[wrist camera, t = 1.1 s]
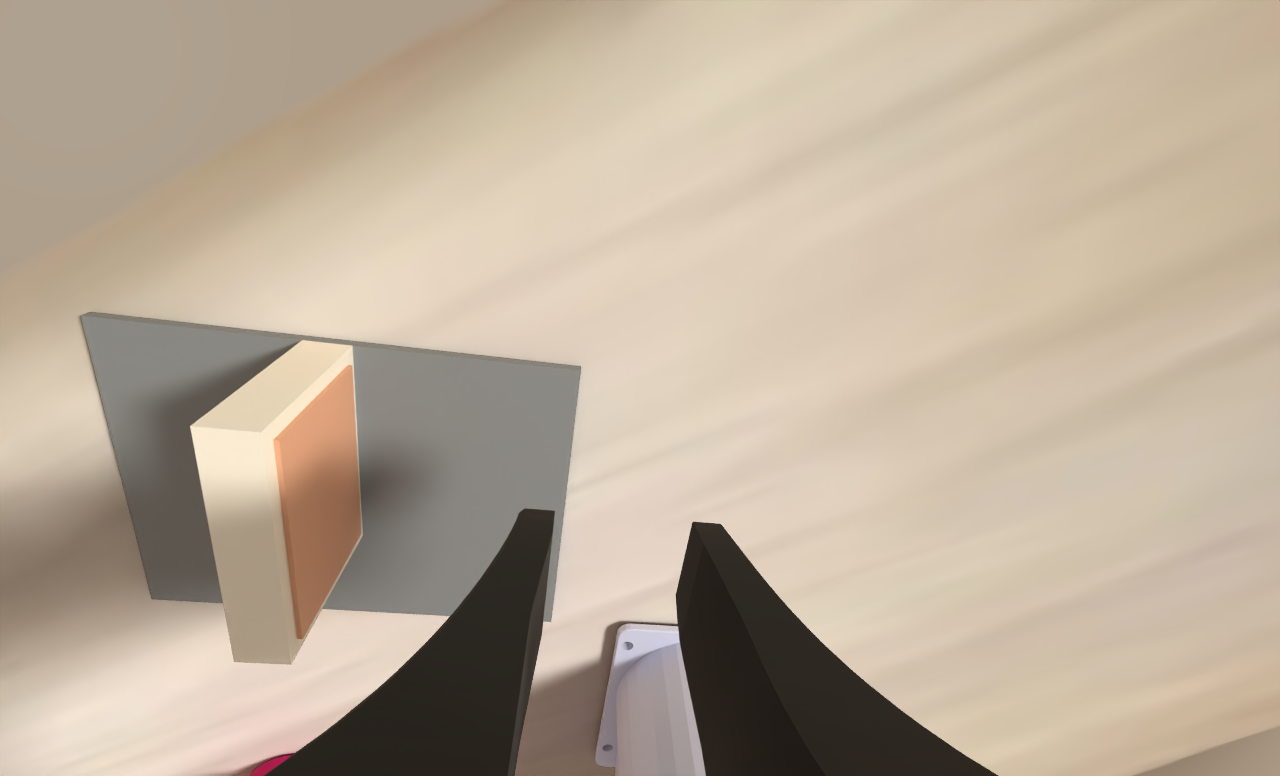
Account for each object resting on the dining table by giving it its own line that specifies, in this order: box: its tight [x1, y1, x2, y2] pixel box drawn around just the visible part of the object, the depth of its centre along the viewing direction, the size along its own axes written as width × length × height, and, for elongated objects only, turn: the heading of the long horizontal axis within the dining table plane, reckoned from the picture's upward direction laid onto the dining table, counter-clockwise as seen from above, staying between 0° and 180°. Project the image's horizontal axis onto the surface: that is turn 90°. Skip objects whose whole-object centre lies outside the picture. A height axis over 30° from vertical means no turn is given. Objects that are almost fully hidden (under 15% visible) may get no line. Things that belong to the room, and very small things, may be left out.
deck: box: [190, 340, 363, 664], centre depth 19 cm, size 8×2×6 cm, turn 171°
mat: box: [81, 312, 581, 622], centre depth 22 cm, size 12×16×1 cm
